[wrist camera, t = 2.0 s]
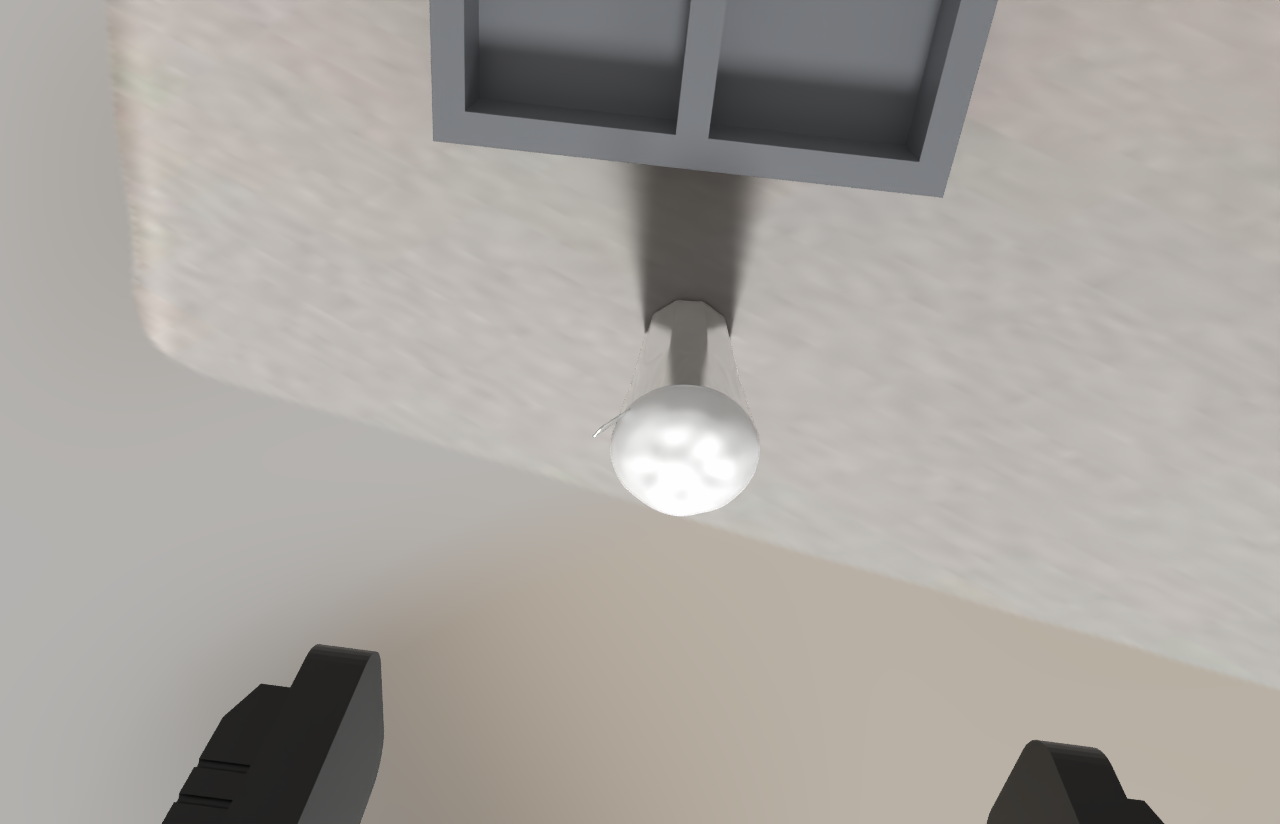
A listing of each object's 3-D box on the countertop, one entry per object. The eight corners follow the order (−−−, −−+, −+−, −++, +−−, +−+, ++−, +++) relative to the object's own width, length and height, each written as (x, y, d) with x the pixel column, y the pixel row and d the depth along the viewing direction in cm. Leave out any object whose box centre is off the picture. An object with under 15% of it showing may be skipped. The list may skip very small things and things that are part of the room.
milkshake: (661, 244, 32) (647, 375, 23) (771, 329, 33) (797, 482, 25) (588, 332, 34) (550, 482, 25) (695, 409, 35) (694, 575, 27)
